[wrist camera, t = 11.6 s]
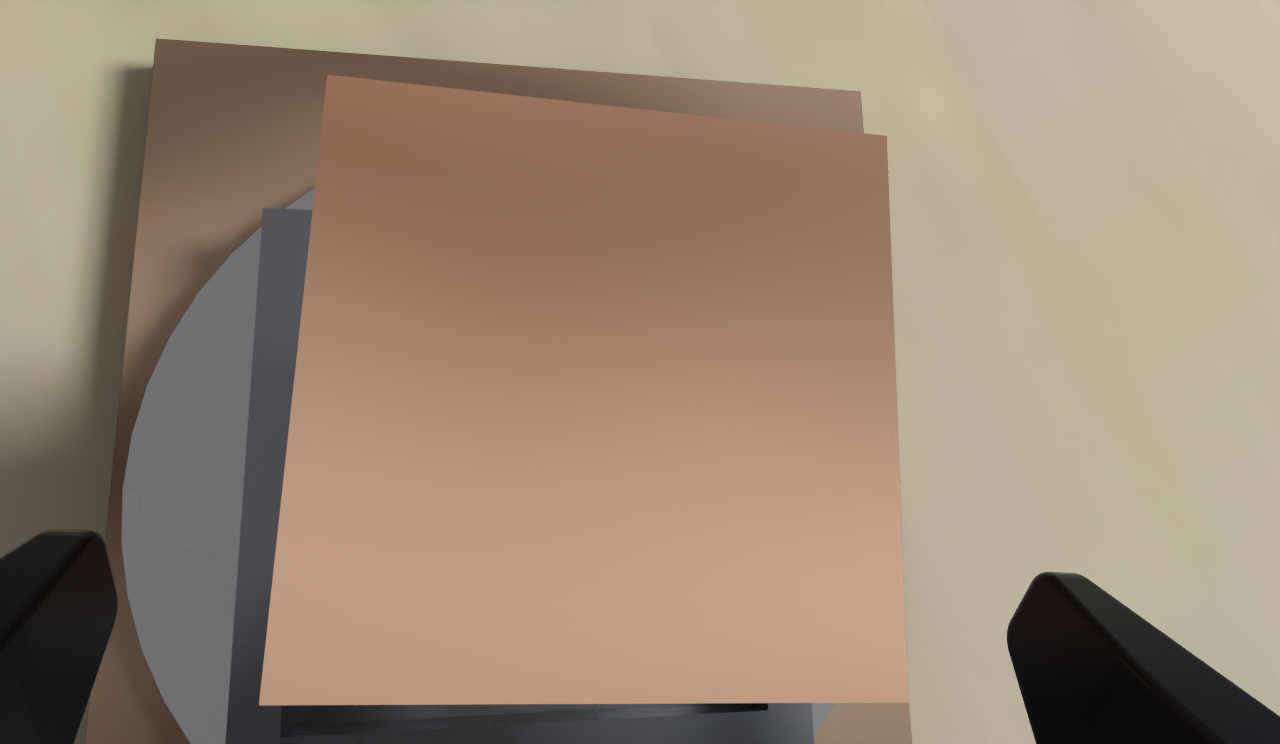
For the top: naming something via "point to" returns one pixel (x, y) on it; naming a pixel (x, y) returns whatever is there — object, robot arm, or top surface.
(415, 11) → the top surface
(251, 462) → the rosette plate
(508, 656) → the tan wooden block
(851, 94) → the walnut board
